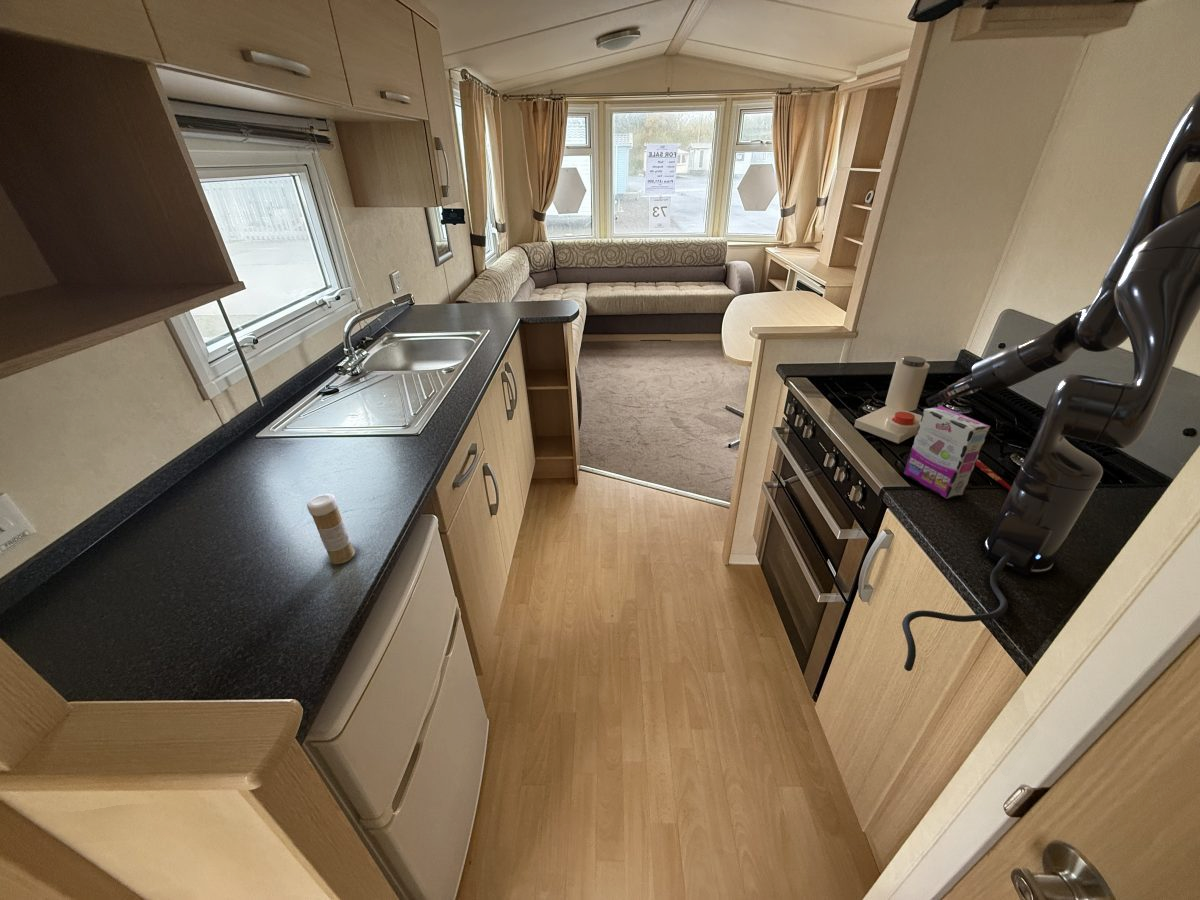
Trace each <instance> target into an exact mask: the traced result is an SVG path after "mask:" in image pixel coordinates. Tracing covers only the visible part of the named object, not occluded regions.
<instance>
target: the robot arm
mask: <svg viewBox="0 0 1200 900" xmlns="http://www.w3.org/2000/svg"><path fill="white" fill-rule="evenodd" d="M1188 163H1200V91H1199V92H1197V93H1196V94H1195V95H1194V96H1193V97H1192V99H1190V100H1189V102H1188V103H1187V104H1186V106H1185V107H1184V109H1183V111H1181V114H1180V115H1179V117H1178V118H1177V120H1176V122H1175V124H1174V125H1173V127H1172V130H1171V132H1170V134H1169V136H1168V138H1167V140H1166V142H1165V144H1164V146H1163V148H1162V151H1161V153H1160V155H1159V158H1158V159H1157V162H1156V164H1155V167H1154V168H1153V169H1154V170H1153V172H1152V174H1151V176H1150V179H1149V180H1148V183H1147V185H1146V188H1145V190H1144V191H1143V194H1142V197H1141V199H1140V202H1139V204H1138V206H1137V209H1136V212H1135V215H1134V216H1133V217H1134V218H1133V220H1132V222H1131V225H1130V227H1129V229H1128V231H1127V234H1126V236H1125V238H1124V241H1122V244H1121V246H1120V248H1119V249H1118V251H1117V252H1116V255H1115V256H1114V258H1113V260H1112V261H1111V263H1110V265H1109V267H1108V269H1107V271H1106V272H1105V274H1104V276H1103V278H1102V280H1101V283H1100V286H1099V289H1098V293H1097V295H1096V296H1095V299H1094V300H1093V302H1092V303H1091V304H1089V305H1086V306H1084V307H1083V308H1080V309H1079V310H1077V311H1075V312H1074V313H1072V314H1071V315H1069V316H1068V317H1066V318H1065V319H1062V320H1061V321H1060V322H1058V323H1056V324H1055V325H1054V326H1052V327H1051V328H1049V329H1047V330H1046V331H1044V332H1042V333H1040V334H1037V335H1035V336H1033V337H1031V338H1029V339H1027V340H1024V341H1022V342H1020V343H1017V344H1016V345H1013V346H1010V347H1007V348H1005V349H1003V350H1000V351H999V352H997V353H994V354H992V355H990V356H987V357H986V358H983V359H982V360H979V361H977V362H975V363H974V364H973V365H972V367H971V373H970V374H969V375H967V376H964V377H962V378H960V379H958V380H957V381H956V382H954V383H952V384H950V385H948V386H946V388H944V389H943V390H940V391H939V392H938V393H936V394H933V395H931V396H929V397H927V398H926V399H925V402H926V405H928V407H929V408H933V407H935V406H936V405H938V404H940V403H946V402H949V401H950V400H952V399H953V400H957V399H960V398H961V397H964V396H970V395H971V394H975V393H976V392H978V391H980V390H982V391H983V392H985V393H987V394H994V393H997V392H1000V391H1003V390H1005V389H1006V388H1009V387H1011V386H1012V387H1013V386H1015V385H1017V384H1019V383H1021V382H1024V381H1027V380H1028V379H1031V378H1033V377H1034V376H1036V375H1038V374H1040V373H1042V372H1045V371H1048V370H1050V369H1052V368H1054V367H1057V366H1059V365H1062V364H1064V363H1066V362H1067V361H1069V360H1070V359H1071V358H1072V356H1073V355H1074V354H1075V353H1076V352H1077V351H1078V350H1080V349H1084V350H1085V351H1089V352H1094V353H1101V352H1108V351H1111V350H1113V349H1115V348H1116V349H1117V347H1119V346H1121V345H1122V344H1124V343H1125V342H1126V341H1127V340H1128V339H1129V342H1130V345H1131V350H1132V353H1133V362H1134V365H1133V368H1134V371H1133V378H1132V382H1125V381H1120V380H1114V379H1108V378H1102V377H1097V376H1092V375H1091V376H1089V375H1084V374H1075V373H1074V374H1073V373H1072V374H1069V375H1066V376H1064V377H1063V378H1062V379H1061V380H1060V381H1059V382H1058V383H1057V385H1056V386H1055V387H1054V389H1053V391H1052V393H1051V395H1050V397H1049V398H1048V399H1049V400H1048V402H1047V404H1046V407H1045V410H1044V412H1043V414H1042V418H1041V421H1040V423H1039V426H1038V428H1037V431H1036V434H1035V436H1034V438H1033V441H1032V443H1031V445H1030V447H1029V449H1028V451H1027V453H1026V455H1025V457H1024V459H1023V461H1022V463H1021V465H1020V468H1019V470H1018V472H1017V474H1016V476H1015V479H1014V480H1013V482H1012V485H1011V489H1010V491H1009V490H1008V493H1007V495H1006V498H1005V500H1004V502H1003V504H1002V506H1001V508H1000V510H999V513H998V515H997V517H996V520H995V522H994V524H993V526H992V529H991V531H990V533H989V534H988V537H987V538H986V540H985V541H984V545H983V546H984V550H985V552H986V553H985V555H984V556H985V557H986V558H988V559H991V560H992V561H994V562H996V563H997V564H996V565H995V567H994V568H993V570H992V571H991V573H990V577H989V583H990V587H991V590H992V591H993V593H994V595H995V597H997V599H998V601H999V606H998V607H997V609H995V610H992V611H991V612H986V613H979V614H968V615H960V614H959V615H958V614H950V613H945V612H940V611H933V610H924V609H923V610H922V609H921V610H915V611H911V612H909V613H907V614H906V615H905V616H904V617H903V619H902V622H901V625H902V630H903V631H902V632H903V633H904V637H905V640H906V644H907V655H906V660H905V662H904V666H903V668H904V670H905V671H907V672H911V671H913V668H914V666H915V661H916V657H917V648H916V642H915V639H914V636H913V633H912V630H911V622H912V621H913V620H915V619H917V618H923V617H925V618H933V619H937V620H938V619H939V620H944V621H949V622H957V623H971V622H981V621H989V620H994V619H997V618H1000V617H1001V616H1003V615H1004V614H1005V613H1006V612H1007V610H1008V608H1009V603H1008V600H1007V598H1006V596H1005V595H1004V594H1003V592H1002V591H1001V589H1000V587H999V584H998V579H999V575H1000V574H1001V572H1002V571H1003V569H1005V567H1007V568H1009V569H1011V570H1013V571H1015V572H1017V573H1019V574H1021V575H1023V576H1026V577H1028V576H1029V575H1031V574H1032V575H1043V574H1046V573H1048V572H1049V571H1051V569H1052V567H1053V566H1054V562H1055V561H1056V559H1057V558H1058V555H1059V554H1060V551H1061V550H1062V548H1063V546H1064V544H1065V543H1066V541H1067V539H1068V537H1069V536H1070V534H1071V532H1072V530H1073V529H1074V526H1075V524H1076V523H1077V521H1078V519H1079V517H1080V516H1081V514H1082V513H1083V510H1084V509H1085V507H1086V505H1087V504H1088V502H1089V500H1090V498H1091V497H1092V495H1093V493H1094V491H1095V490H1096V487H1098V484H1099V483H1100V481H1101V479H1102V477H1103V475H1104V468H1103V466H1102V465H1101V464H1100V462H1099V461H1097V460H1096V459H1095V458H1093V456H1090V455H1089V454H1087V453H1085V452H1083V451H1082V450H1080V449H1079V448H1077V447H1075V446H1074V445H1073V444H1071V442H1069V441H1068V440H1067V439H1066V438H1065V437H1068V438H1072V439H1077V440H1081V441H1084V442H1089V443H1092V444H1094V443H1095V444H1098V445H1102V446H1107V447H1112V448H1117V449H1127V448H1129V447H1131V446H1134V444H1136V442H1137V441H1138V440H1139V439H1141V437H1142V436H1143V434H1145V431H1146V430H1147V428H1148V426H1149V425H1150V423H1151V420H1152V418H1153V415H1154V413H1155V411H1156V409H1157V407H1158V404H1159V401H1160V399H1161V396H1162V393H1163V391H1164V389H1165V386H1166V385H1167V381H1168V380H1169V379H1168V378H1169V376H1170V374H1171V372H1172V369H1173V366H1174V364H1175V361H1176V359H1177V356H1178V354H1179V352H1180V349H1181V347H1182V345H1183V343H1184V340H1185V338H1186V336H1187V335H1188V333H1189V331H1190V329H1191V327H1192V325H1193V323H1194V322H1195V319H1196V318H1197V316H1198V314H1199V312H1200V198H1199V199H1198V200H1196V201H1195V202H1194V203H1193V204H1191V205H1189V206H1188V207H1187V208H1185V209H1184V210H1182V211H1181V212H1180V209H1179V204H1178V185H1179V181H1180V178H1181V175H1182V172H1183V170H1184V168H1185V166H1186V164H1188Z"/></svg>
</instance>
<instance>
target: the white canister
mask: <svg viewBox="0 0 1200 900" xmlns="http://www.w3.org/2000/svg"><path fill="white" fill-rule="evenodd" d="M930 367H931V366H930V363H928V362H927V360H926V359H925V358H923V357H920V356H916V355H915V356H914V355H906V356H903V357H902V358H901V359H897V360H896V362H895V365H894V370H893V373H892V377H891V380H890V383H889V387H888V390H887V396H886V399H885V401H884V404H885V406H888V407H890V408H893V409H896V410H901V411H909V412H913V411H916V410H917V409H918V406H919V402H920V400H921V395H922V393H923V390H924V386H925V383H926V380H927V376H928V373H929V370H930Z"/></svg>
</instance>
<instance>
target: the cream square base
mask: <svg viewBox="0 0 1200 900" xmlns="http://www.w3.org/2000/svg"><path fill="white" fill-rule="evenodd" d="M896 412H908V413H911V414H913V415H914V416H915V418H914V421H913V424H912V425H900V424H898V423H895V422H894V421H893V419H894V416H895V413H896ZM922 415H923V414H922ZM922 415H921V414H918V413H915V412H913V411H901V410H896V409H893V408H890V407H888V406H887V405H885V406H883V407H881V408H879V409H876V410H874V411H871V412H870V413H868V414H865V415H863V416H861V417H859V418H857V419H855V420H854V425H853V427H854V428H856V429H859V430H860V431H864V432H867V433H869V434H872V435H874V436H877V437H880V438H882V439H885V440H887V441H890V442H892V443H895V444H901V443H902V442H904V441H906V440H908V439H910V438H912V437H915V436H916V434H917V430H918V427H919V424H920V421H921V418H922Z"/></svg>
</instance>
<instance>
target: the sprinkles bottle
mask: <svg viewBox="0 0 1200 900" xmlns="http://www.w3.org/2000/svg"><path fill="white" fill-rule="evenodd" d="M338 506H339V505H338V502H337V500H336V497H335V495H333V494H331V493H322V494H318V495H315V496H314V497H312V498H311V499H309V501H308V502H307V503H306V508H307V511H308V513H309V514H310V515H311V517H312V519H313V521H314V524H315V526H316V530H317V531H318V534H319V538H320V540H321V542H322V545H323V547H324V549H325V550H326V553H327V555H328V557H329V558H328V559H329V561H330V563H331V564H333V565H339V564H340V565H341V564H345V563H347V562H348V561H350V560H351V559H353V558H354V556H355V554H356V550H355V548H354V546H353V545H352V544H353V543H352V542H351V541H352V540H351V538H350V535H349V532H348V530H347V527H346V524H345V522H344V519H343V517H342V515H341V512H340V510H339V508H338Z"/></svg>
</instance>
